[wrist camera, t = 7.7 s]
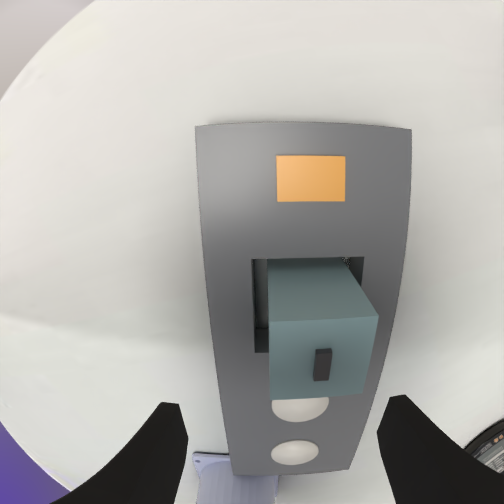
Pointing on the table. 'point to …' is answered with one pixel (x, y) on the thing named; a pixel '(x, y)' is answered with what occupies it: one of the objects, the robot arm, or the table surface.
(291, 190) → the control panel
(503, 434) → the supplement container
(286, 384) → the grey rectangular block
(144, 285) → the table surface
